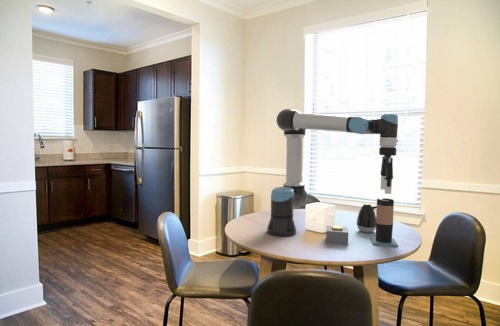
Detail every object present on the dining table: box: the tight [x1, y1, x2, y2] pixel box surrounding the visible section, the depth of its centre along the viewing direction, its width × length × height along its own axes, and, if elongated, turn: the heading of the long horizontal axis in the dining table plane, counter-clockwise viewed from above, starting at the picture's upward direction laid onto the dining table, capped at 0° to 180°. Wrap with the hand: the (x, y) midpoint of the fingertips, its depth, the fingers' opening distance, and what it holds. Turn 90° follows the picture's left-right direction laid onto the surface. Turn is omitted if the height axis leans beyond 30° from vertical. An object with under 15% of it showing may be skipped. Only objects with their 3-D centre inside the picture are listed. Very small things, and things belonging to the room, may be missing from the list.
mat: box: [370, 236, 399, 248], centre depth 167 cm, size 11×11×1 cm
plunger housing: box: [325, 225, 349, 246], centre depth 168 cm, size 10×10×6 cm
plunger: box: [332, 225, 343, 231], centre depth 168 cm, size 4×4×6 cm
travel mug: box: [375, 198, 395, 243], centre depth 166 cm, size 8×8×20 cm
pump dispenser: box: [356, 203, 377, 234], centre depth 186 cm, size 10×10×15 cm
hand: (385, 191), depth 165 cm, fingers open, 13 cm apart
